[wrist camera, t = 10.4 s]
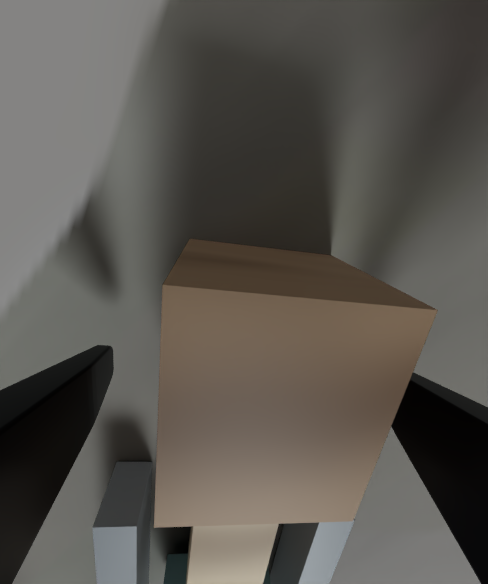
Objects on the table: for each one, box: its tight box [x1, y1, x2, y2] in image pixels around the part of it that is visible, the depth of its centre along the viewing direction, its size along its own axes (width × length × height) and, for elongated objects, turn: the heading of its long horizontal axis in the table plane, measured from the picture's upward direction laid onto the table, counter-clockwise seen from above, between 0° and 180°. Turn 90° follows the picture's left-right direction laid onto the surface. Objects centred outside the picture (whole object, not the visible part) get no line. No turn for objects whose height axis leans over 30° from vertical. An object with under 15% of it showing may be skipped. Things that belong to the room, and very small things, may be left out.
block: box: [154, 239, 438, 528], centre depth 8 cm, size 6×5×5 cm
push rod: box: [164, 524, 279, 584], centre depth 10 cm, size 12×5×4 cm, turn 172°
